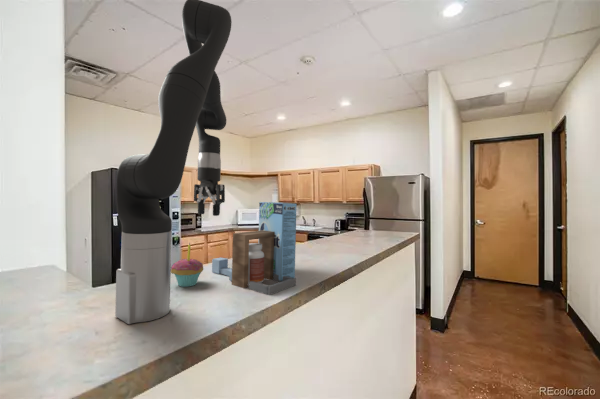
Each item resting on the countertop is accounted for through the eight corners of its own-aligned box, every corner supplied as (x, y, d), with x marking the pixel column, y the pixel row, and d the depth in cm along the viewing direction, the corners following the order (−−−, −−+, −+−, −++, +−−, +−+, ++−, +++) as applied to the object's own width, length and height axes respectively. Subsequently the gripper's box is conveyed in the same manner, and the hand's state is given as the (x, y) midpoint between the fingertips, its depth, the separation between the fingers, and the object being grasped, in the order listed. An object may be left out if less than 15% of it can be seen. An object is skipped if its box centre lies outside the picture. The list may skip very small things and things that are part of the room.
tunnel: (273, 278, 89) (274, 231, 88) (243, 288, 79) (245, 235, 79) (261, 275, 92) (262, 230, 91) (231, 284, 82) (232, 233, 82)
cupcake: (206, 286, 80) (207, 242, 80) (173, 290, 75) (174, 244, 75) (198, 278, 87) (199, 238, 87) (167, 282, 82) (168, 240, 82)
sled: (253, 275, 91) (253, 262, 91) (233, 281, 84) (234, 266, 84) (226, 268, 99) (226, 256, 99) (206, 273, 92) (206, 260, 92)
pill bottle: (266, 279, 87) (267, 243, 87) (259, 285, 81) (260, 246, 81) (248, 278, 89) (248, 242, 89) (238, 283, 83) (239, 245, 83)
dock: (269, 295, 74) (269, 287, 74) (248, 288, 78) (249, 281, 78) (295, 285, 83) (295, 278, 83) (275, 280, 87) (276, 273, 87)
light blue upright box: (294, 280, 86) (297, 203, 86) (279, 281, 84) (282, 203, 84) (269, 266, 103) (272, 202, 103) (256, 267, 101) (258, 201, 101)
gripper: (187, 167, 100) (186, 214, 100) (212, 165, 91) (211, 216, 92) (206, 169, 106) (205, 213, 106) (231, 167, 97) (230, 215, 98)
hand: (208, 214), depth 99 cm, fingers open, 8 cm apart
